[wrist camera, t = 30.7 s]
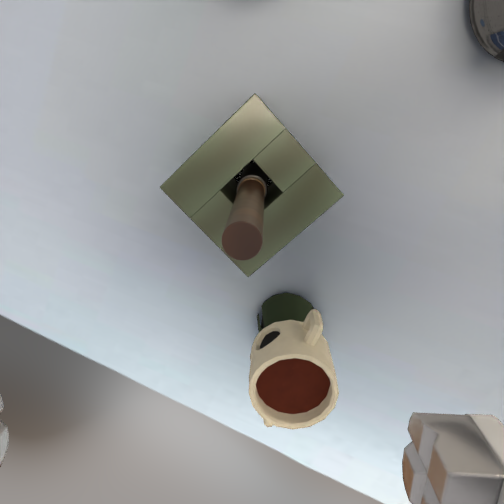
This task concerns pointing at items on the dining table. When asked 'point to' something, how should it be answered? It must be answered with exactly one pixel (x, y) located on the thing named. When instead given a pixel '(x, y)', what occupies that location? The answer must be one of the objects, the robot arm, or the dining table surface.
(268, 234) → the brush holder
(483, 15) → the beverage bottle
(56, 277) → the dining table surface
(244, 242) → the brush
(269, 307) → the character mug
